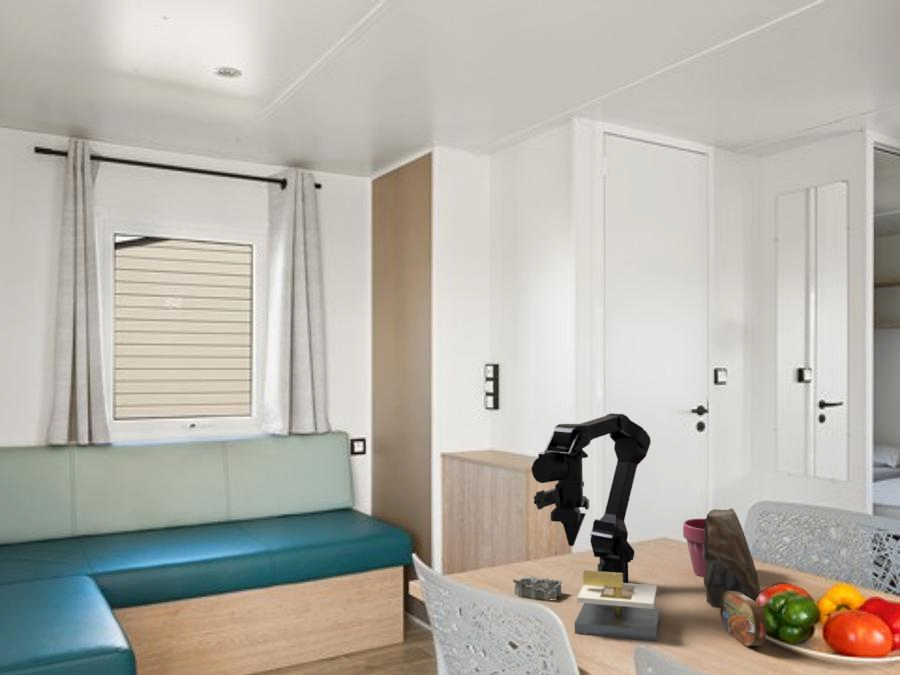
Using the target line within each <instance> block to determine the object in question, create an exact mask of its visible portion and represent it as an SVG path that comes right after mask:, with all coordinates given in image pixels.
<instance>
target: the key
mask: <svg viewBox="0 0 900 675" xmlns="http://www.w3.org/2000/svg"><path fill="white" fill-rule="evenodd" d="M582 574H583V577H582V578H583V580H582V581H583V585H590V586H603V587H613V589H612V590H613V594H610V593H609V594H608V593H607V594H605V593H603V596H602V597H605V598H617V599H629V600H631V598H632V595H623V589H622V587H623V573H615V572H601V571H598V570H589V569H588V570H586V569H584V570H583V572H582ZM583 585H582V586H583ZM614 615H616V616H622V615H623V606H614Z"/></svg>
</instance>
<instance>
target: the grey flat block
mask: <svg viewBox="0 0 900 675" xmlns="http://www.w3.org/2000/svg"><path fill="white" fill-rule="evenodd" d="M660 620H661V610H660V608H659V607H658V608H656V607H654V608H653V609H648V608H637V607H625V606H623V615H622V616H616V615H614V606H613V605H602V604H590V603H582V606H581V608H580V610H579V613H578V615H577V617H576V619H575V622H574V633H575V634H581V633H585V634H584V635H592V634H594V635H593V636H602V635H604V636H603V637H614V638H622V639H623V638H625V639H635V640H642V641H643V640H645V641H657V640H658V633H659V632H658V631H659V627H660V626H659V625H660ZM595 634H596V635H595Z"/></svg>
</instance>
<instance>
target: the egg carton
mask: <svg viewBox="0 0 900 675" xmlns="http://www.w3.org/2000/svg"><path fill="white" fill-rule="evenodd" d="M563 580H564V579H555V580H554V579H550V578H538V577H536V576H533V575H529V576H525V577H523V578H520V580H519V579H518V580H517V579H513V580H512V582H513V583H514V595H515V596H517V597H518V598H519V597H520V598H522V597H529V598H530V599H532V598H534V599H543V598H544V599H543V600H544V601H546V600H550V599H556V600H557V597H561V596H562V583H563ZM556 595H557V596H556ZM560 595H561V596H560ZM550 601H551V600H550Z"/></svg>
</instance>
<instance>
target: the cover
mask: <svg viewBox="0 0 900 675" xmlns="http://www.w3.org/2000/svg"><path fill="white" fill-rule="evenodd" d="M657 586H658V585H656V584H645V583H644V584H642V583H641V584H640V583H633V582H632V583H631V582H630V583H623V587H622V591H625V590H626V591H633V592H632V595H631V596H632V598H631V600H629V599H617V598H605V597H602V596H603V594H605V590H606V589H612V590H613V587H603V586H590V585H582V587H581V589H580V591H579V593H578V594H577V597H576V603H578V604H579V603H580V604H584V603H590V604H602V605H613V606H625V607H637V608H648V609H653V608H655V603H656V602H655V601H656V596H657V591H658V588H657Z"/></svg>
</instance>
